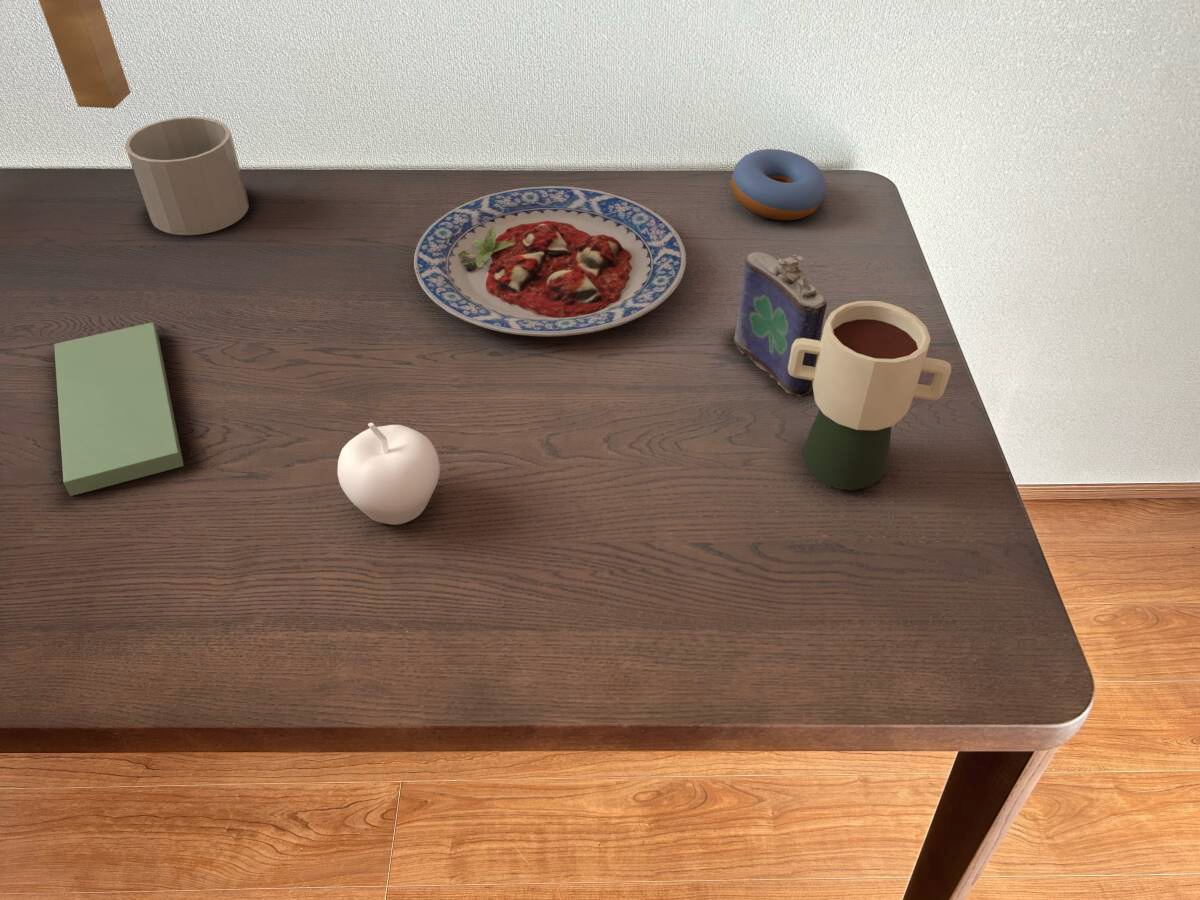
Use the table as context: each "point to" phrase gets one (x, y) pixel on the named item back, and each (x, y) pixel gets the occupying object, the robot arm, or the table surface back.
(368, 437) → the apple
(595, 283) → the ceramic plate
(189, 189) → the tin
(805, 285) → the flask
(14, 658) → the table surface
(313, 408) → the table surface
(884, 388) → the character mug
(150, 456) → the green rectangular block
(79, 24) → the stick
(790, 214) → the doughnut
